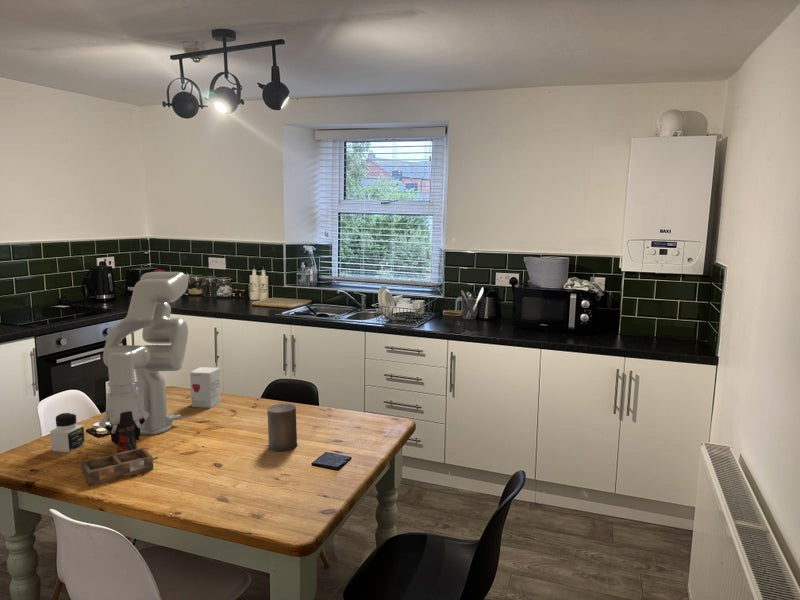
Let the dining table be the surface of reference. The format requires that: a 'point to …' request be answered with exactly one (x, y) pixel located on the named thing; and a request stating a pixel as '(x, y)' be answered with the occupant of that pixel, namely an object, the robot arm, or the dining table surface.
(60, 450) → the medicine bottle
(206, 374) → the supplement box
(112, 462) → the divided compartment tray
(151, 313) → the robot arm
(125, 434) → the deodorant
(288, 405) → the pillar candle
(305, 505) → the dining table surface
